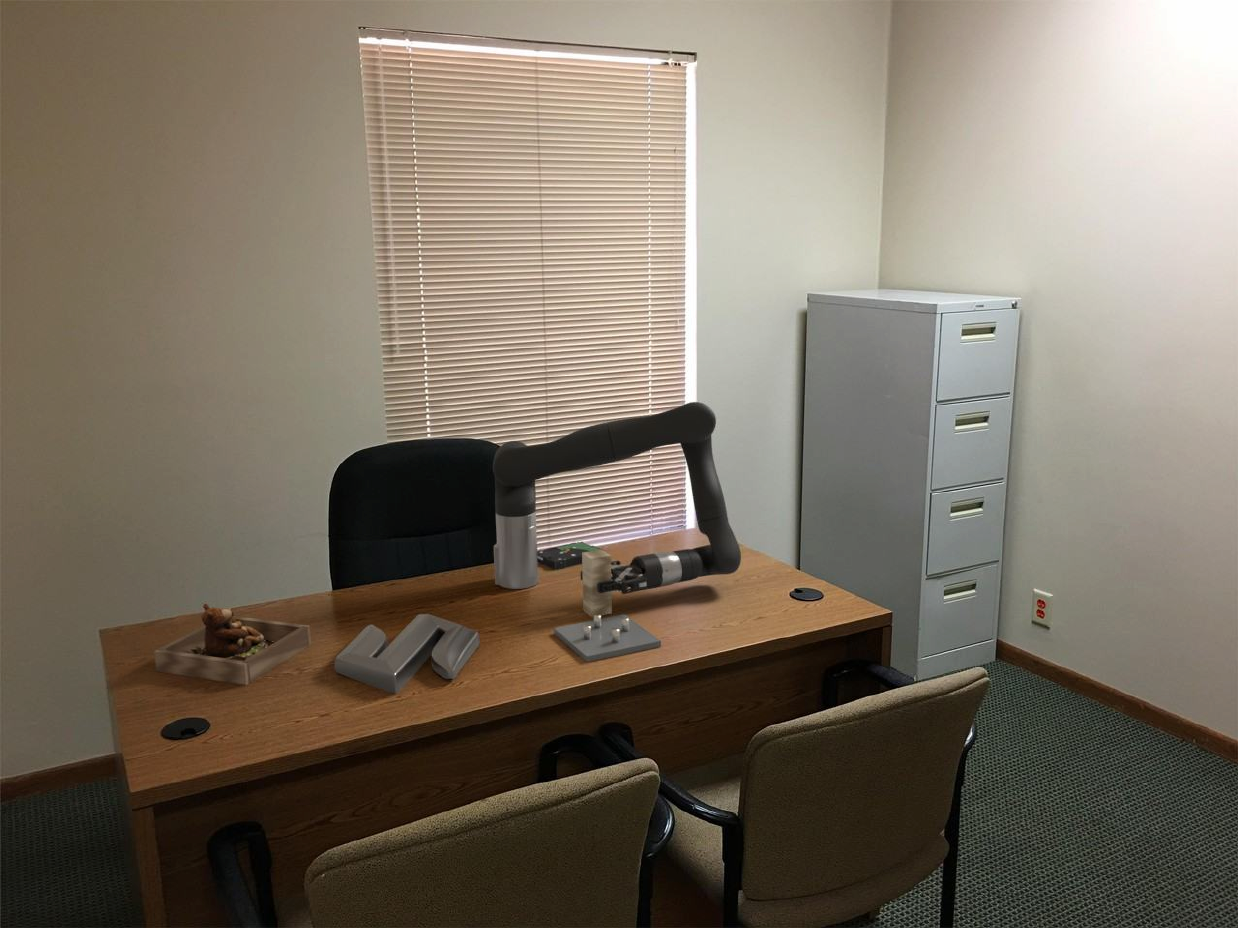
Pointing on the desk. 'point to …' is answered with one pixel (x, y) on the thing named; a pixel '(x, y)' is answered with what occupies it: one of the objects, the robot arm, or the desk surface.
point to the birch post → (596, 582)
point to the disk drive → (564, 555)
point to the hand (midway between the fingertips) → (589, 582)
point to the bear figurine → (228, 636)
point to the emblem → (407, 652)
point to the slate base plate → (606, 637)
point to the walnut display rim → (185, 663)
